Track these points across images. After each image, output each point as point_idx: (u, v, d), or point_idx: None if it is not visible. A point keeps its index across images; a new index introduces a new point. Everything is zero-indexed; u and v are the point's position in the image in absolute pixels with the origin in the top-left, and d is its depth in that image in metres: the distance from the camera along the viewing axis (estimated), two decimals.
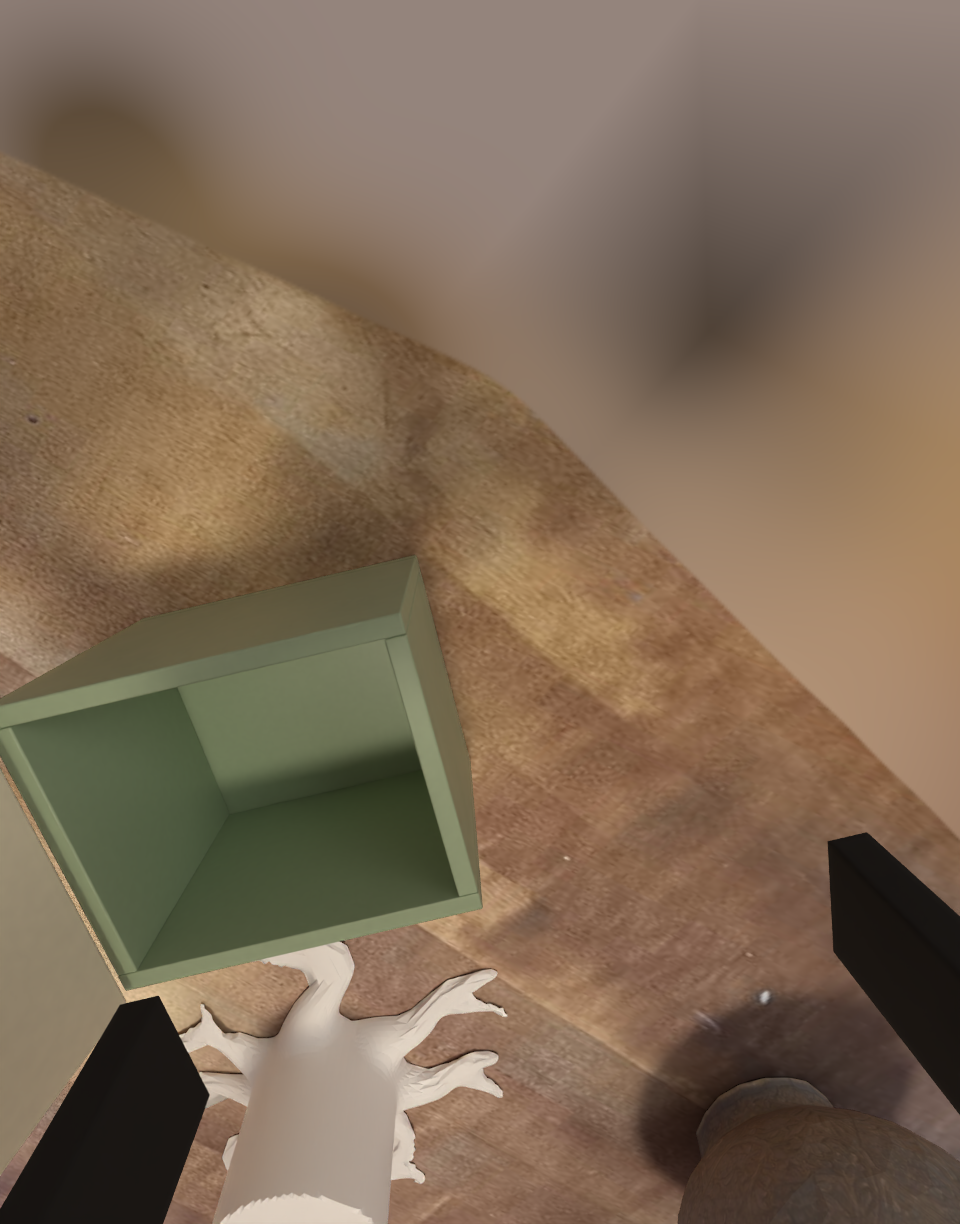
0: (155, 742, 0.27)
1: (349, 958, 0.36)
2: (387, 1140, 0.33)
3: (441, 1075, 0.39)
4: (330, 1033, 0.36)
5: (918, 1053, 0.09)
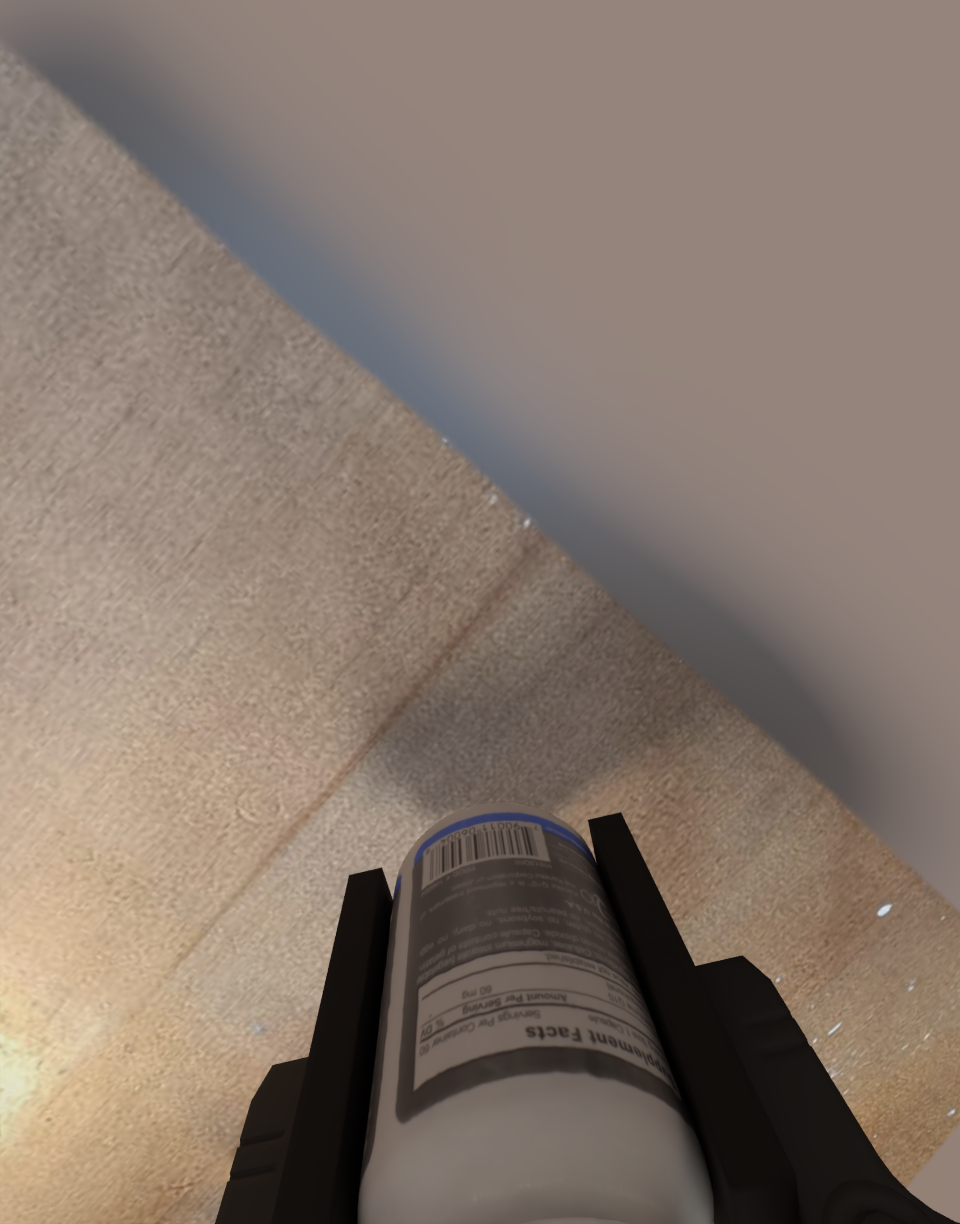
0: None
1: None
2: None
3: None
4: None
5: None
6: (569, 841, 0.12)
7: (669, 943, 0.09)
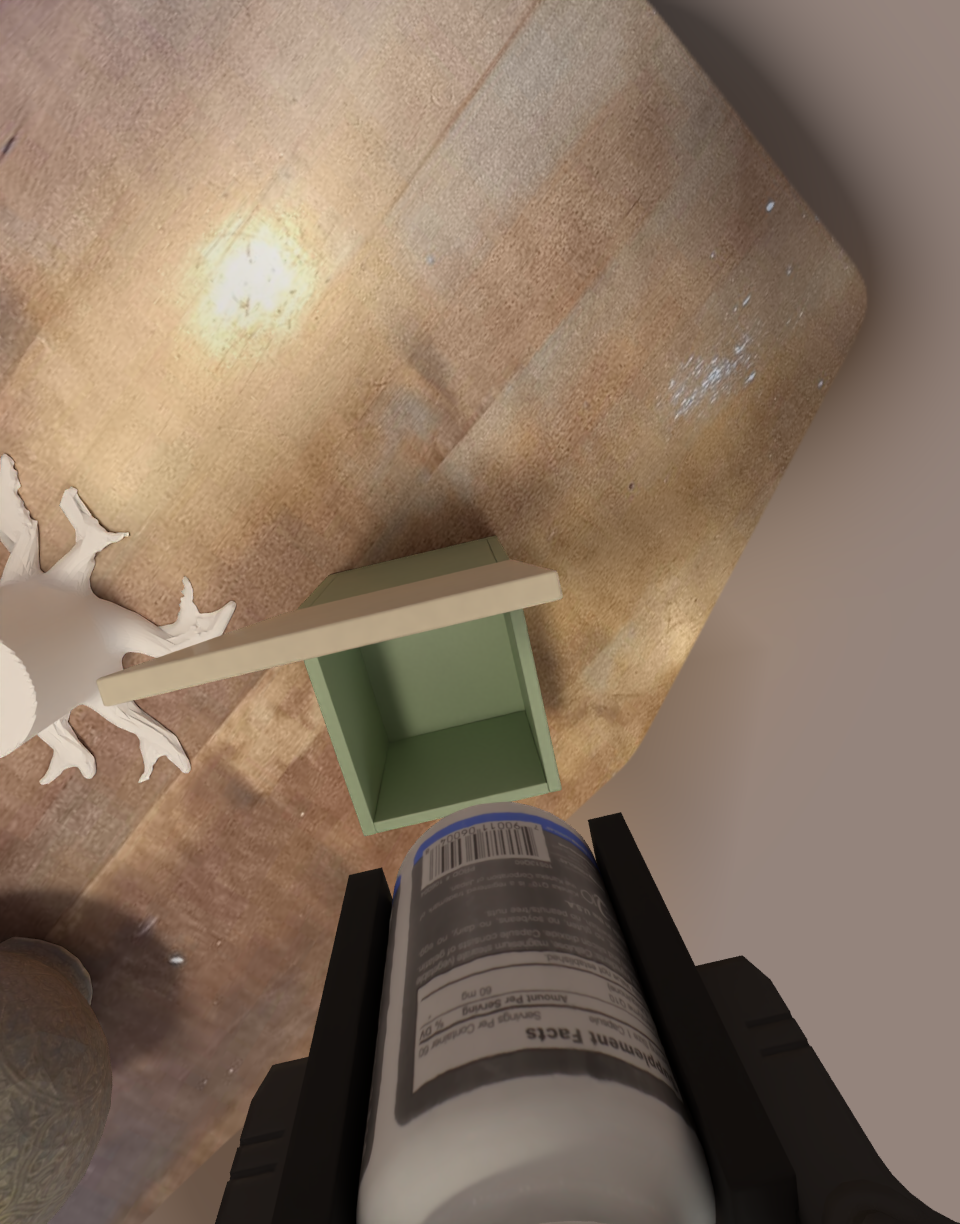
0: None
1: None
2: None
3: (66, 736, 0.43)
4: (117, 652, 0.40)
5: None
6: (569, 841, 0.12)
7: (669, 944, 0.09)
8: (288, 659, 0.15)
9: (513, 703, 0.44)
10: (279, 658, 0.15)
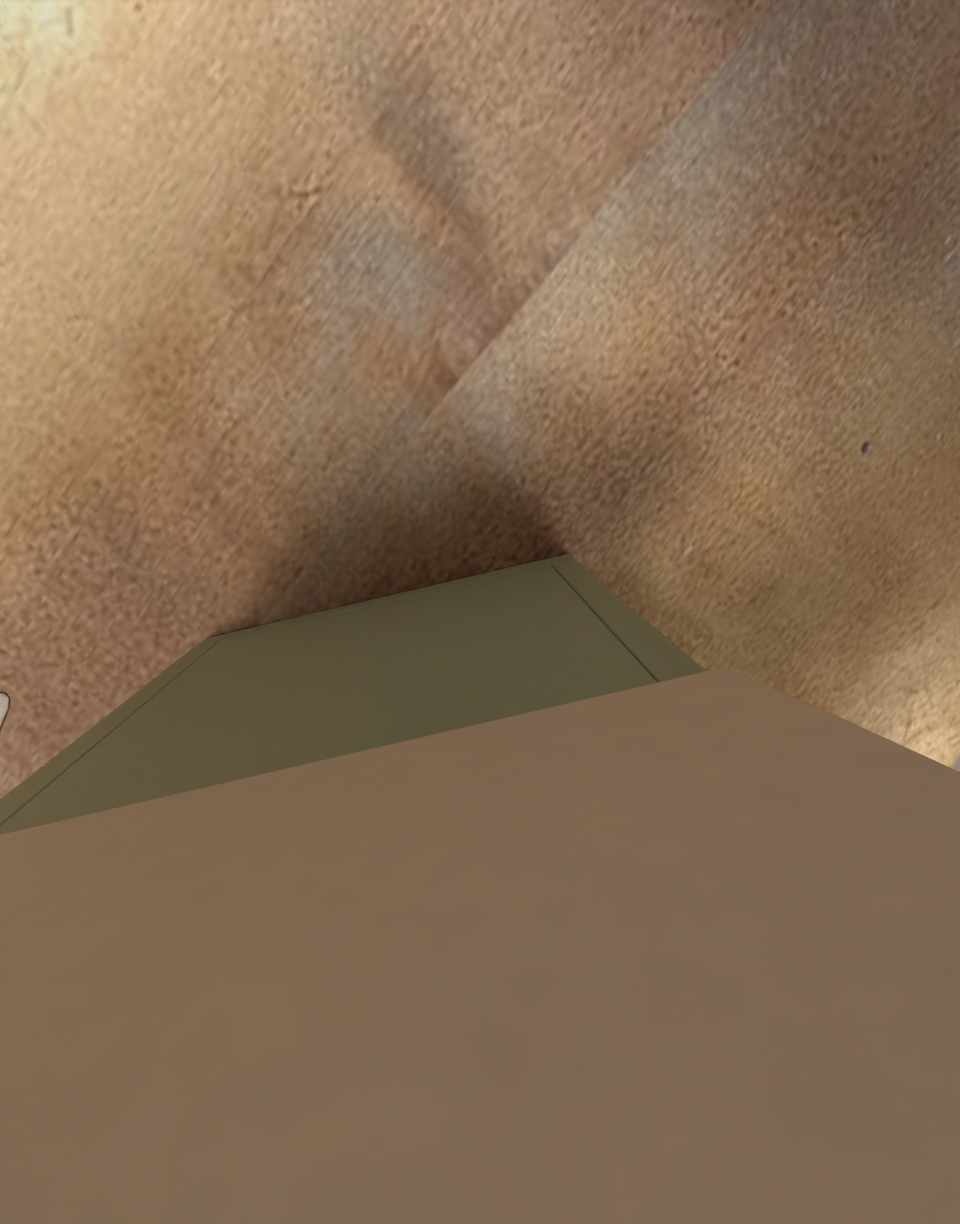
0: None
1: None
2: None
3: None
4: None
5: None
6: None
7: None
8: None
9: None
10: None
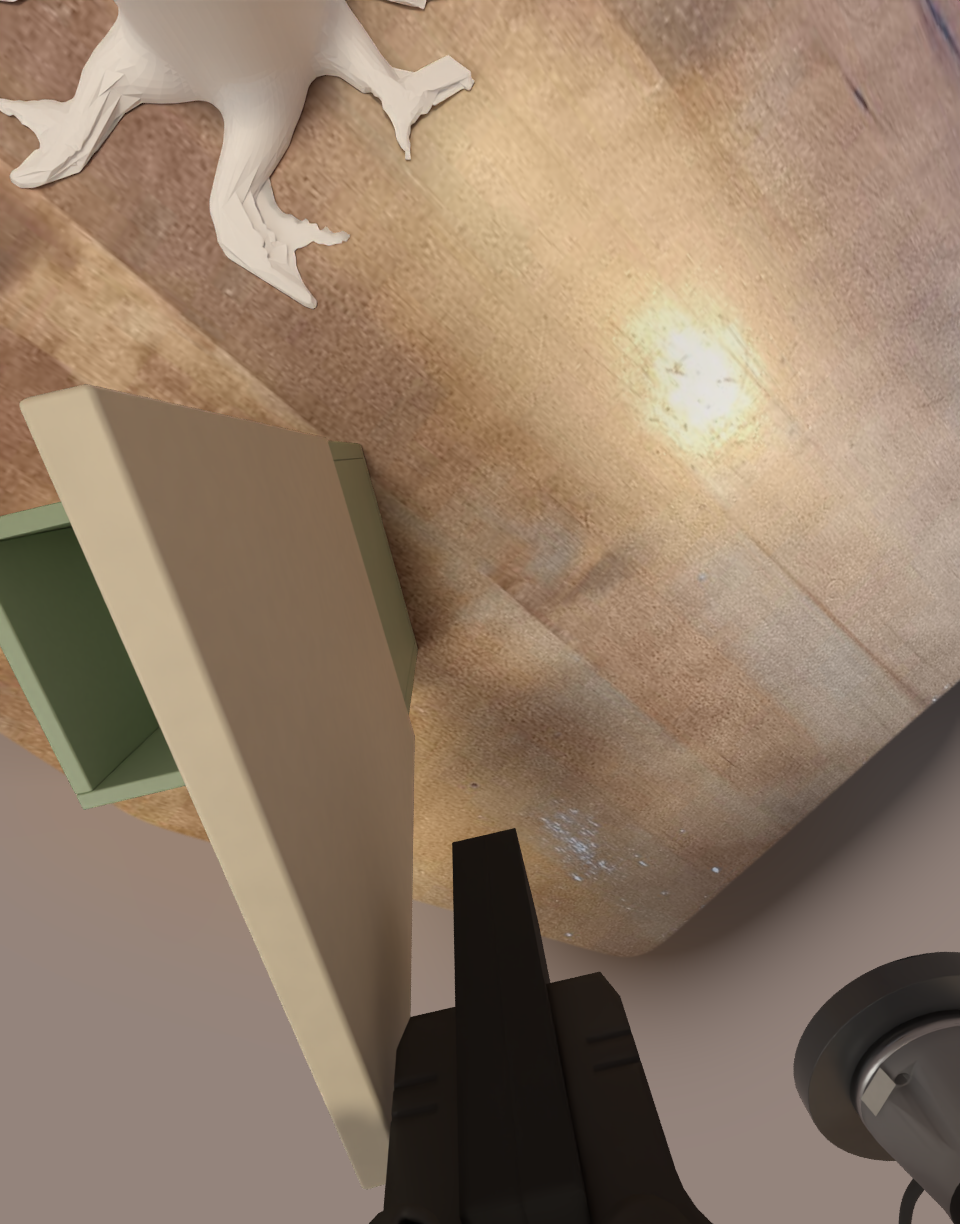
0: None
1: None
2: None
3: None
4: (222, 101, 0.26)
5: None
6: None
7: (526, 961, 0.10)
8: (204, 815, 0.07)
9: None
10: (206, 796, 0.07)
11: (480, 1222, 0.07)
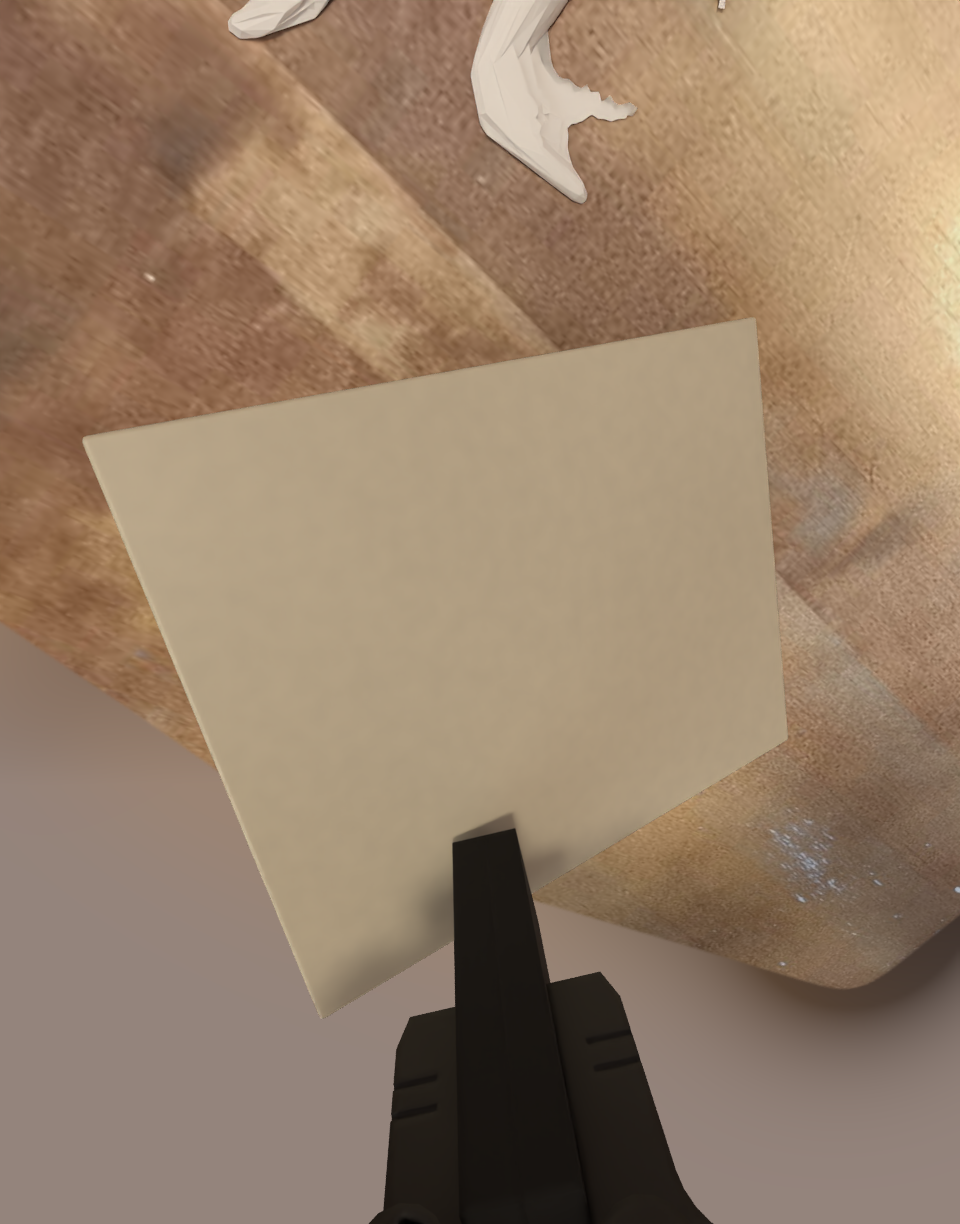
0: None
1: (477, 97, 0.22)
2: None
3: None
4: None
5: None
6: None
7: (526, 961, 0.10)
8: None
9: None
10: None
11: (480, 1222, 0.07)
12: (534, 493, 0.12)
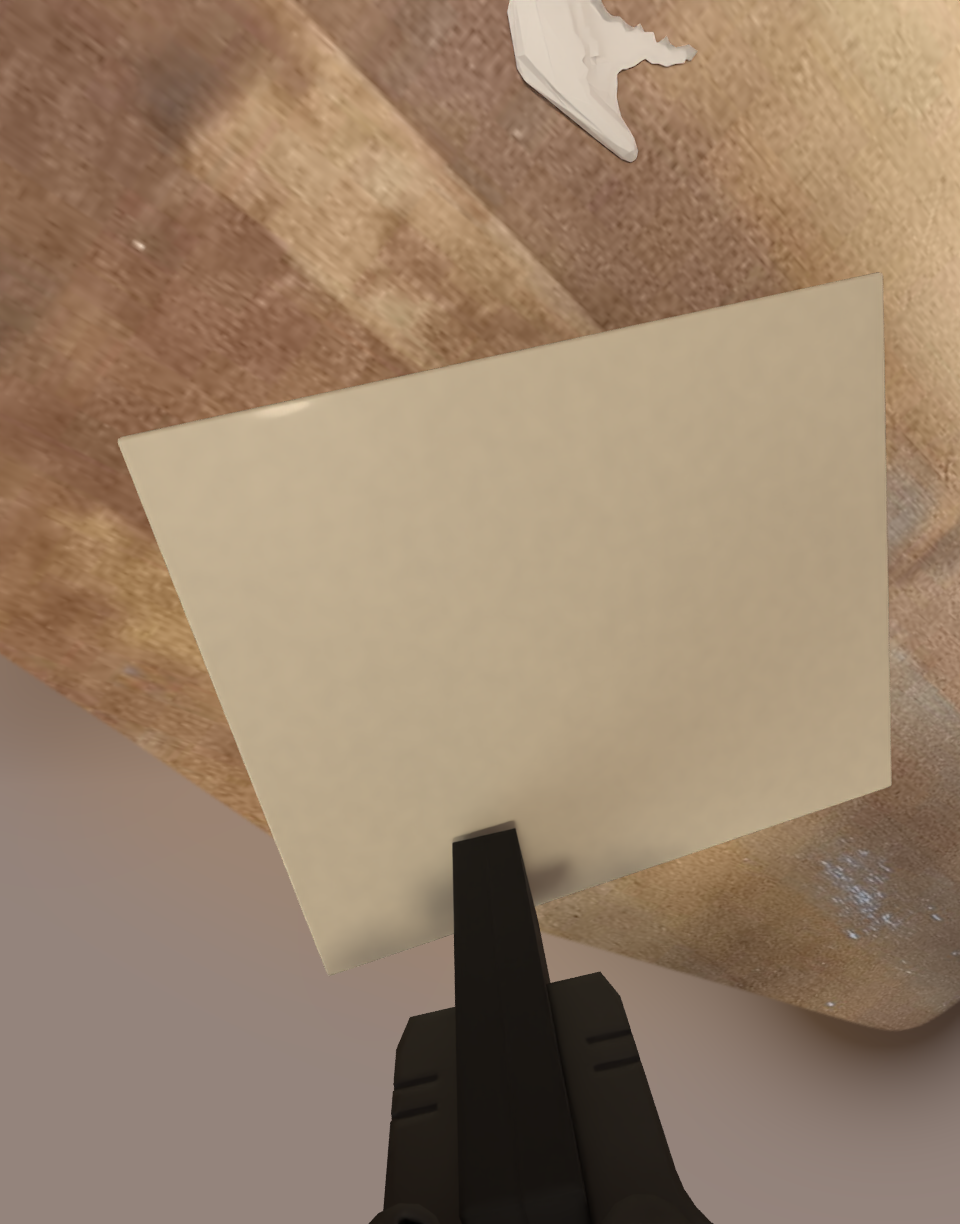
0: None
1: (515, 36, 0.19)
2: None
3: None
4: None
5: None
6: None
7: (526, 961, 0.10)
8: None
9: None
10: None
11: (480, 1222, 0.07)
12: (565, 491, 0.12)
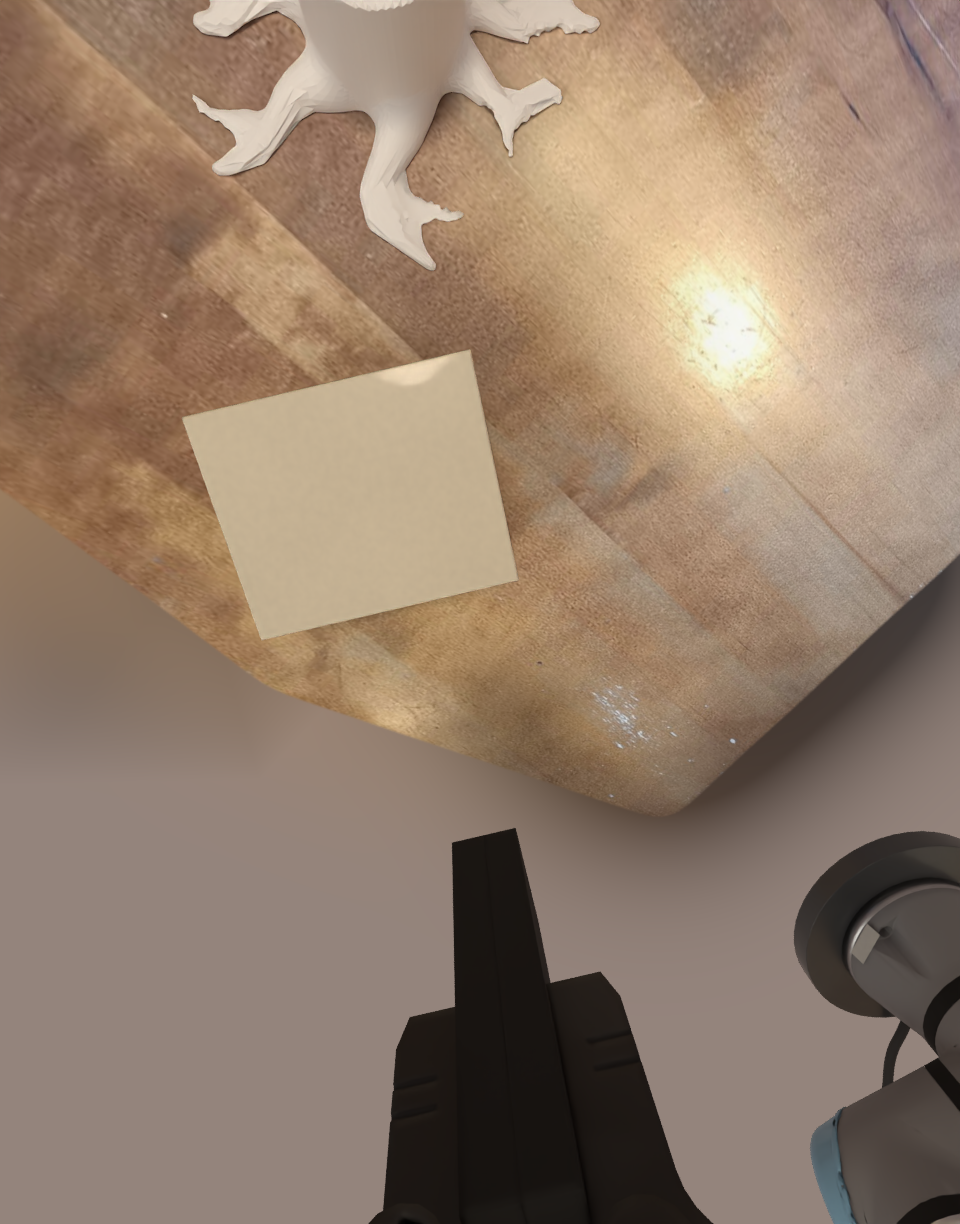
0: None
1: (364, 208, 0.37)
2: None
3: (257, 4, 0.33)
4: (378, 111, 0.34)
5: None
6: None
7: (527, 961, 0.10)
8: None
9: None
10: None
11: (479, 1222, 0.07)
12: (344, 437, 0.30)
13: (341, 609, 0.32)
